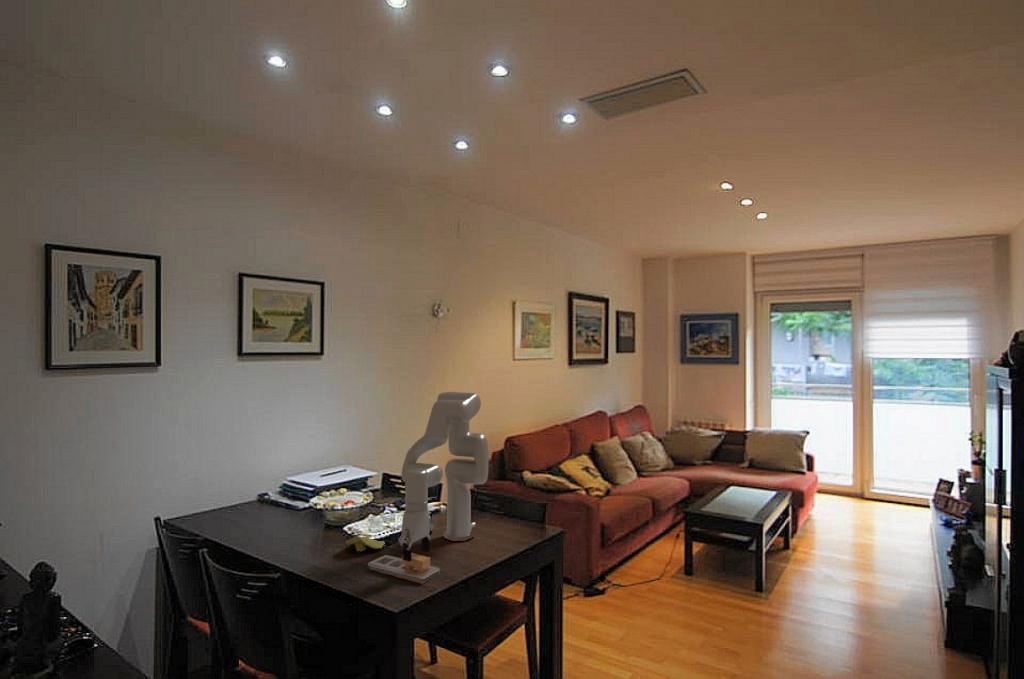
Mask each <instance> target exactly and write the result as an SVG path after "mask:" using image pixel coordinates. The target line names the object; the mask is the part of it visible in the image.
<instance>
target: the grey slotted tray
mask: <svg viewBox="0 0 1024 679" xmlns="http://www.w3.org/2000/svg"><path fill="white" fill-rule="evenodd" d="M384 561H388V563H386V564H382V562H384ZM396 564H400V565H401V566H399V567H394V566H393V565H396ZM368 566H370V567H374V568H379V569H384V570H388V571H392V572H395V573H399V574H403V575H407V576H412V577H416V578H419V579H425V578H427V577H429V576H430V575H432V574H434V573H436V572H438V571H439V572H440V567H437V566H433V565H429V566H428V571H427V572H425V573H423V574H421V573H417V567H415V568H414V569H412V570H410V571H409V570H405V564H402V557H396V556H394V555H393V556H392V555H387V554H385V555H383V556H380V557H377V558H375V559H374V560H371V561H369V562H367V567H368Z"/></svg>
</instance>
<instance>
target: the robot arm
mask: <svg viewBox="0 0 1024 679" xmlns="http://www.w3.org/2000/svg"><path fill="white" fill-rule="evenodd" d="M481 406H482V402H481V397H480V396H479V394H477V393H475V392H458V391H445V392H441V393H440V394H438V395H437V400H436V401H435V402H434V403H433V405H432V408H431V411H430V415H429V419H428V421H427V425H426V429H425V433H424V435H423V436H422V437H421V438H419V439H418V440H417V441H415V442H414V443H413V445H412V446H411V447H410V448H409V449H408V451H407V452H406V455H405V457H404V461H403V464H402V468H401V480H402V481H403V482H404V483H405V484H404V486H405V487H404V490H405V494H404V495H405V496H404V497H405V501H404V502H405V503H404V504H405V505H404V506H405V509H404V511H403V515H402V521H401V522H402V524H401V535H400V536H399V537H398V541H397V542H398V543H399V546H400V547H401V549H402V556H403V560H405V561H409V562H410V561H411V560H412V553H413V552H412V549H411V548H412V546H413V543H416V542H417V541H420V540H421V544H420V545H421V551H422V552H426V553H429V552H430V551H431V546H430V545H431V542H430V541H431V539H432V534H433V529H434V524H433V523H432V522H431V523H430V521H431V520H430V512H429V507H428V505H429V504H428V502H429V501H428V500H429V499H428V498H429V497H428V496H429V495H428V494H429V490H428V489H429V488H432V487H436V486H437V485H439V484H440V483H441V481H442V479H443V475H445V479H446V481H445V482H446V489H447V490H446V492H447V493H446V499H447V500H446V507H447V508H446V509H447V510H446V515H447V516H446V531H445V532H443V534H442V537H443V536H444V537H446V538H448V537H449V539H450V537H452V538H462V537H466V536H469V535H470V532H471V531H472V529H473V528H475V527H476V525H477V524H476V522H475V521H474V522H471V518H472V517H471V515H472V514H471V511H472V510H471V507H472V506H471V504H472V503H471V502H472V500H471V499H472V498H471V497H472V494H471V490H470V487H469V486H468V484H469V485H484V484H485V483H486V482H487V481H488V477H489V444H488V443H489V442H488V439H487V437H486V435H484V434H482V433H478V432H471V430H470V421H471V420H472V419H473V418H474V417H475V416H477V414H478V413H479V411H480V409H481ZM447 441H448V443H447ZM446 443H447V444H448V451H449V453H450V454H451V455H452V456H456V457H465V458H452V459H450V460H448V461H447V462H446V463H445V468H444V473H443V469H442V467H441V466H440V465H438V464H433V463H421V462H417V461H418V460H419V458H420V457H421V456H422V455H423V454H424V453H427V452H429V451H432V450H434V449H436V448H439V447H441V446H443V445H445V444H446ZM467 457H468V458H474V459H468V458H467Z"/></svg>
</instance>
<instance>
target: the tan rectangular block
mask: <svg viewBox="0 0 1024 679" xmlns="http://www.w3.org/2000/svg"><path fill="white" fill-rule="evenodd" d="M401 559H402V564H405V570H409V571H410V570H412V569H414V568H415V567H417V573H421V574H423V573H425V572H427V571H428V566H431V557H430V556H427V555H426V556H425V555H421V554H417V553H413V552H412V560H411V561H410V562H409V561H405V560H403V555H402V556H401Z"/></svg>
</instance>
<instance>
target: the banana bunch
mask: <svg viewBox="0 0 1024 679" xmlns="http://www.w3.org/2000/svg"><path fill="white" fill-rule="evenodd" d="M384 527H387V528H390V529H392V528H391V526H390V525H385V526H384ZM344 542H345V544H346V545H348V546H351V545H353V544H354V546H355V549H356V552H357V551H360V552H363V551H366V549H367V547H368V548H371V549H376V550H378V549H379V548H380V549H383V548H382V547H383V545H384V544H385V542H384V541H377V540H372V539H369V537H368V536H366V537H362V538H361V537H359V535H358V536H357V535H356V536H354V537H352V538H349V539H346V540H345V541H344ZM366 546H367V547H366ZM384 546H385V545H384Z"/></svg>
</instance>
